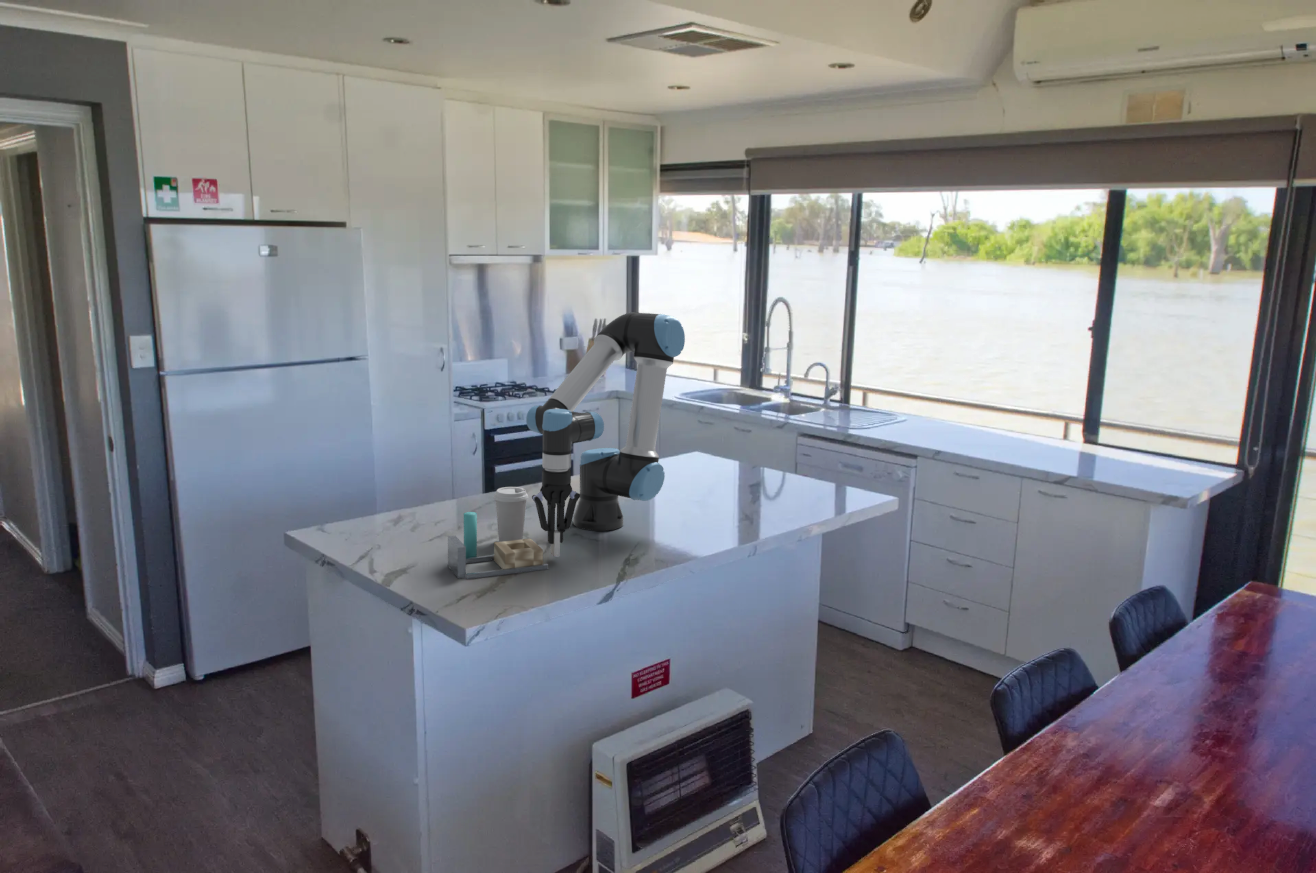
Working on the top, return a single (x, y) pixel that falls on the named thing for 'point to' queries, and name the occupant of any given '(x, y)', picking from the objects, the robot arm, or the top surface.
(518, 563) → the block
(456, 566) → the backstop
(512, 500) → the coffee cup
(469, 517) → the dowel
